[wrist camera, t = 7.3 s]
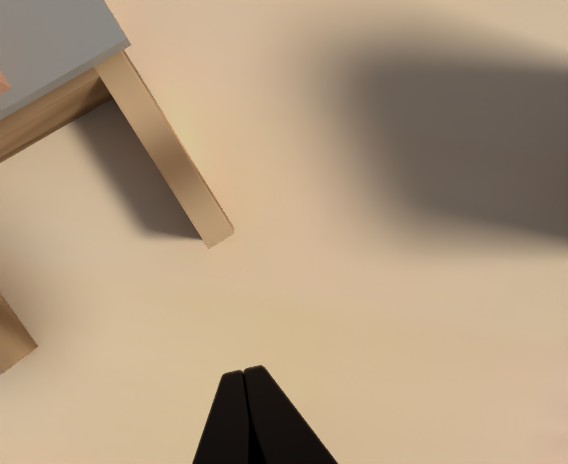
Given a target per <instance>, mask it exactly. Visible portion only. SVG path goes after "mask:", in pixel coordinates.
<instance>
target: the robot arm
mask: <svg viewBox="0 0 568 464" xmlns="http://www.w3.org/2000/svg"><path fill="white" fill-rule="evenodd" d="M192 464H338V463H337V462H336V460H335V459H334V458H333V456H332V455H331V454H330V452H329V451H328V450H327V448H326V447H325V446H324V445H323V443H322V442H321V441H320V439H319V438H318V437H317V435H316V434H315V433H314V431H313V430H312V429H311V427H310V426H309V425H308V424H307V422H306V421H305V420H304V418H303V417H302V416H301V414H300V413H299V412H298V410H297V409H296V408H295V406H294V405H293V404H292V403H291V401H290V400H289V399H288V397H287V396H286V395H285V393H284V392H283V391H282V389H281V388H280V387H279V385H278V384H277V383H276V382H275V380H274V379H273V378H272V376H271V375H270V374H269V372H268V371H267V370H266V368H265V367H264V366H262V365H259V366H254V367H250V368H246V369H245V370H244V374H243V372H242V371H241V370H237V371H232V372H228V373H225V374H223V375H222V377H221V380H220V383H219V386H218V389H217V392H216V395H215V398H214V401H213V404H212V406H211V409H210V412H209V415H208V418H207V421H206V424H205V427H204V430H203V433H202V436H201V439H200V442H199V445H198V448H197V451H196V454H195V457H194V460H193V463H192Z"/></svg>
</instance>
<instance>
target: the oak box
mask: <svg viewBox="0 0 568 464" xmlns="http://www.w3.org/2000/svg"><path fill="white" fill-rule="evenodd" d="M111 98H114V100H115V101H116V103H117V104H118V106H119V107H120V109H121V111H122V112H123V114H124V115H125V117H126V119H127V120H128V122H129V123H130V125H131V127H132V128H133V130H134V131H135V133H136V134H137V136H138V138H139V139H140V141H141V142H142V144H143V146H144V147H145V149H146V150H147V152H148V153H149V155H150V157H151V158H152V160H153V161H154V163H155V165H156V166H157V168H158V169H159V171H160V173H161V174H162V176H163V177H164V179H165V180H166V182H167V184H168V185H169V187H170V188H171V190H172V192H173V193H174V195H175V196H176V198H177V200H178V201H179V203H180V204H181V206H182V207H183V209H184V211H185V212H186V214H187V215H188V217H189V219H190V220H191V222H192V223H193V225H194V226H195V228H196V230H197V231H198V233H199V234H200V236H201V238H202V239H203V241H204V242H205V244H206V246H207V247H208V249H209V248H211V247H212V246H214V245H216V244H217V243H219V242H221V241H222V240H224V239H226V238H227V237H229V236H231V235H232V234H233V232H234V228H233V226H232V224H231V223H230V221H229V219H228V218H227V216H226V215H225V213H224V211H223V210H222V208H221V206H220V205H219V203H218V202H217V200H216V198H215V197H214V195H213V194H212V192H211V190H210V189H209V187H208V185H207V184H206V182H205V181H204V179H203V177H202V176H201V174H200V172H199V171H198V169H197V168H196V166H195V164H194V163H193V161H192V159H191V158H190V156H189V155H188V153H187V151H186V150H185V148H184V146H183V145H182V143H181V142H180V140H179V138H178V137H177V135H176V134H175V132H174V130H173V129H172V127H171V125H170V124H169V122H168V121H167V119H166V117H165V116H164V114H163V112H162V111H161V109H160V108H159V106H158V104H157V103H156V101H155V99H154V98H153V96H152V95H151V93H150V91H149V90H148V88H147V86H146V85H145V83H144V82H143V80H142V78H141V77H140V75H139V73H138V72H137V70H136V69H135V67H134V65H133V64H132V62H131V61H130V59H129V57H128V56H127V54H126V52H125V51H124V49H123V50H122V51H120V52H118V53H116V54H115V55H113V56H111V57H110V58H108V59H106V60H104V61H103V62H101V63H99V64H97V65H96V66H94V67H92V68H90V69H89V70H87V71H85V72H83V73H82V74H80V75H78V76H76V77H75V78H73V79H71V80H69V81H68V82H66V83H64V84H62V85H61V86H59V87H57V88H55V89H54V90H52V91H50V92H49V93H47V94H45V95H43V96H42V97H40V98H38V99H36V100H35V101H33V102H31V103H29V104H28V105H26V106H24V107H22V108H21V109H19V110H17V111H15V112H14V113H12V114H10V115H8V116H7V117H5V118H3V119H1V120H0V163H1V162H3V161H4V160H6V159H8V158H9V157H11V156H13V155H15V154H16V153H18V152H20V151H22V150H23V149H25V148H27V147H28V146H30V145H32V144H34V143H35V142H37V141H39V140H41V139H42V138H44V137H46V136H47V135H49V134H51V133H53V132H54V131H56V130H58V129H60V128H61V127H63V126H65V125H66V124H68V123H70V122H72V121H73V120H75V119H77V118H79V117H80V116H82V115H84V114H86V113H87V112H89V111H91V110H92V109H94V108H96V107H98V106H99V105H101V104H103V103H105V102H106V101H108V100H110V99H111ZM37 347H38V346H37V344H36V343H35V342H34V340H33V339H32V337H31V336H30V335H29V333H28V332H27V330H26V329H25V328H24V326H23V325H22V323H21V322H20V321H19V319H18V318H17V316H16V315H15V314H14V312H13V311H12V310H11V308H10V307H9V305H8V304H7V303H6V301H5V300H4V298H3V297H2V296H1V294H0V375H1V374H2V373H4V372H5V371H7V370H8V369H9V368H11V367H12V366H13V365H14V364H16V363H17V362H18V361H20V360H21V359H22V358H24V357H25V356H26V355H27V354H29V353H30V352H31V351H33V350H34V349H35V348H37Z"/></svg>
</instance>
